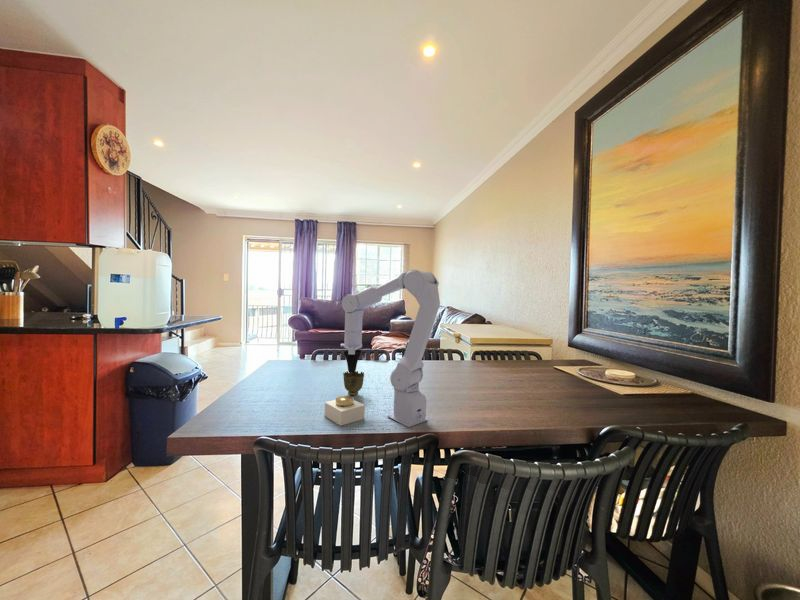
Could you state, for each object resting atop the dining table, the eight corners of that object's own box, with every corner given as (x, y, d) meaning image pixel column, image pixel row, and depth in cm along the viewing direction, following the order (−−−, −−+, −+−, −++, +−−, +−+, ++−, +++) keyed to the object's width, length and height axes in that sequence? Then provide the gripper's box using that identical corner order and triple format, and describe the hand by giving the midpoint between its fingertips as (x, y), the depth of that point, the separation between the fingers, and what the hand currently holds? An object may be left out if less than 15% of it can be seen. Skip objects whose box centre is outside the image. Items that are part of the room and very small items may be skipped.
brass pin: (356, 416, 92) (357, 399, 92) (341, 420, 89) (341, 403, 88) (346, 410, 96) (347, 394, 96) (331, 414, 92) (332, 397, 92)
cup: (367, 394, 113) (368, 372, 113) (354, 400, 107) (355, 377, 106) (351, 390, 117) (352, 369, 117) (338, 395, 110) (338, 373, 110)
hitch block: (364, 418, 92) (364, 405, 92) (340, 425, 86) (341, 411, 86) (347, 409, 98) (347, 396, 98) (324, 415, 93) (324, 402, 93)
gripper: (342, 328, 110) (341, 366, 110) (339, 333, 96) (337, 377, 96) (363, 328, 111) (361, 366, 111) (362, 334, 96) (360, 378, 97)
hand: (351, 371), depth 104 cm, fingers closed
